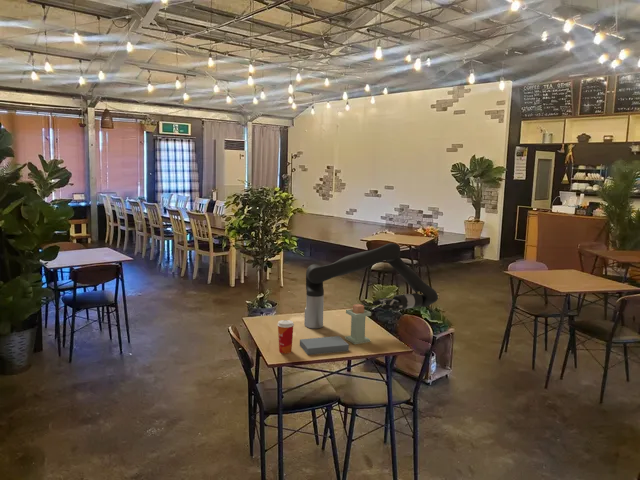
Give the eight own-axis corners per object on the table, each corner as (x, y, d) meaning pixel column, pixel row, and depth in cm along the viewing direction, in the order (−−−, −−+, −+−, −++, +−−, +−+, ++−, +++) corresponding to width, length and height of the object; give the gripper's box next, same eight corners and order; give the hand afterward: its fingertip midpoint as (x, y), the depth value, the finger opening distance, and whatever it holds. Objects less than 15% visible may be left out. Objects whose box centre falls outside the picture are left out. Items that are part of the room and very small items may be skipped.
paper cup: (276, 348, 236) (277, 319, 234) (293, 348, 236) (293, 319, 235) (276, 354, 228) (277, 324, 226) (293, 354, 229) (294, 324, 227)
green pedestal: (345, 338, 252) (345, 309, 250) (360, 336, 256) (361, 307, 254) (354, 344, 244) (355, 314, 242) (370, 341, 248) (371, 312, 246)
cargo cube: (352, 312, 249) (353, 304, 248) (359, 311, 251) (359, 303, 250) (357, 314, 245) (357, 306, 245) (363, 313, 247) (364, 305, 247)
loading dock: (307, 355, 228) (307, 348, 228) (299, 345, 241) (299, 339, 240) (348, 350, 235) (348, 344, 234) (339, 341, 247) (339, 335, 247)
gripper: (395, 291, 266) (370, 295, 259) (412, 297, 254) (386, 301, 246) (395, 305, 267) (369, 309, 260) (412, 312, 255) (385, 316, 247)
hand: (377, 305), depth 253 cm, fingers open, 8 cm apart
